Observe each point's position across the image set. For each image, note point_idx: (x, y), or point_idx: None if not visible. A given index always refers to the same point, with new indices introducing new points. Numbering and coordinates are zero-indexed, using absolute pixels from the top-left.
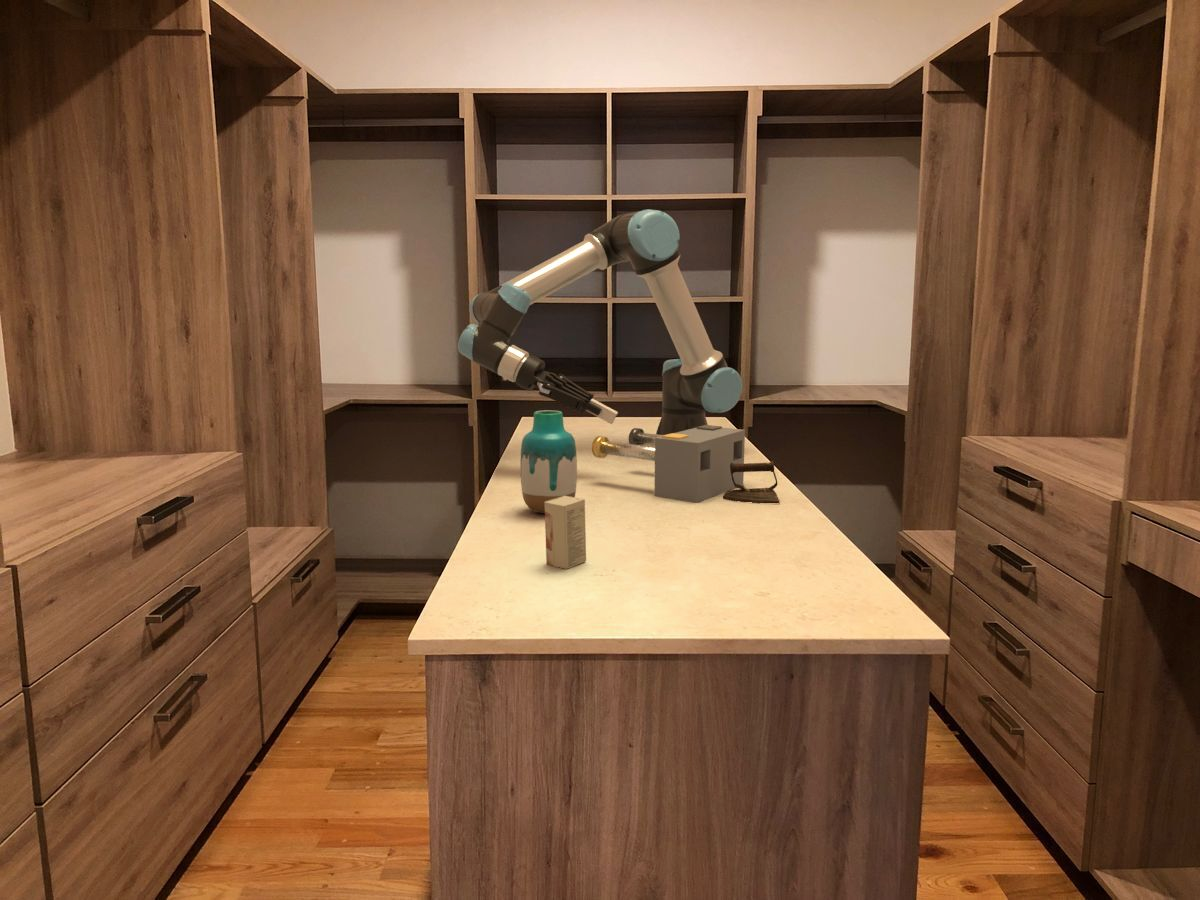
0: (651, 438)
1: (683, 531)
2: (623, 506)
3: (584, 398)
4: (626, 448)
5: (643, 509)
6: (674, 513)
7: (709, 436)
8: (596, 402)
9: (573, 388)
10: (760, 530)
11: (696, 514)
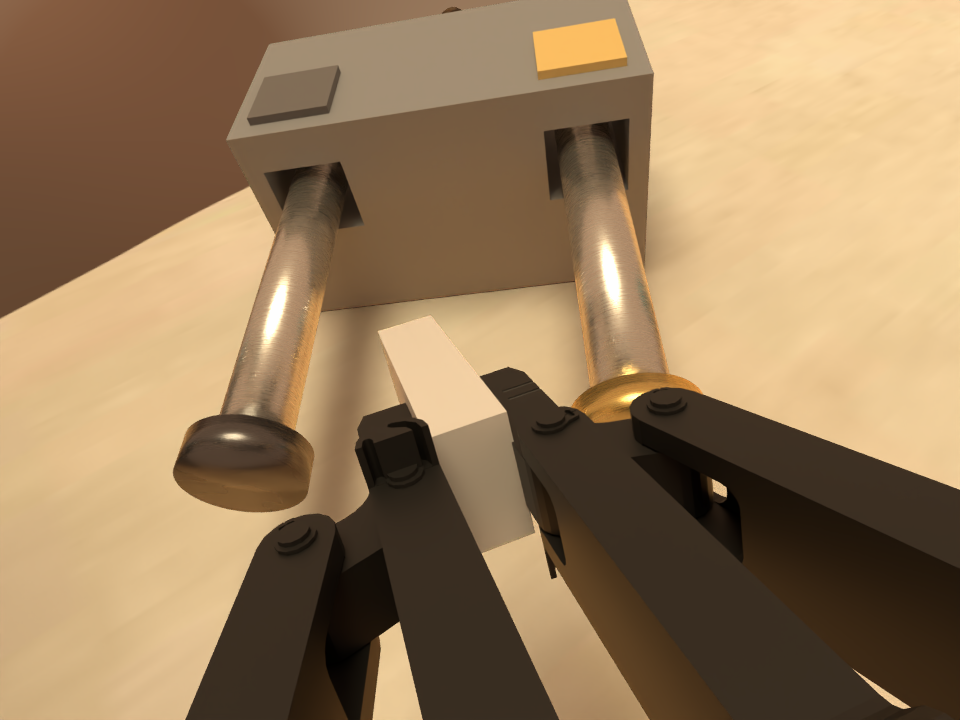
0: (296, 351)
1: (875, 66)
2: (844, 251)
3: (571, 436)
4: (639, 261)
5: (811, 202)
6: (765, 145)
7: (473, 23)
8: (466, 388)
9: (488, 676)
10: (719, 22)
11: (724, 120)
